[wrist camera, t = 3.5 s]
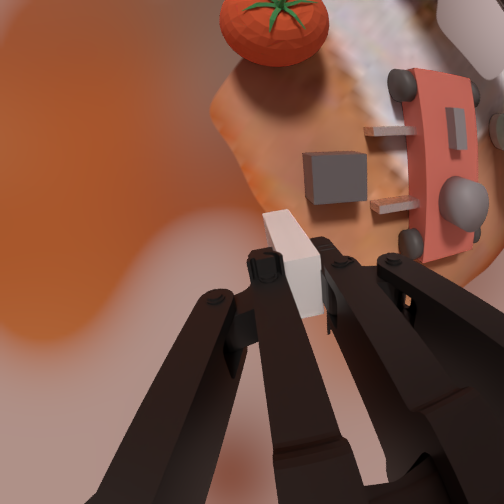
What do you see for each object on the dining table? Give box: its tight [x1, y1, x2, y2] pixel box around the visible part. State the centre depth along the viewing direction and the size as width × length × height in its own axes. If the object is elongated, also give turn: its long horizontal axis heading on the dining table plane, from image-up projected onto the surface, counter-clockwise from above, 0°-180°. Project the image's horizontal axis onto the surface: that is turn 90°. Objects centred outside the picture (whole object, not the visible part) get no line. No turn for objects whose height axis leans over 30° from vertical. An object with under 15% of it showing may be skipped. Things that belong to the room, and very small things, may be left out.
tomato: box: [220, 0, 329, 67], centre depth 19 cm, size 10×10×10 cm
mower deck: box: [388, 68, 489, 263], centre depth 26 cm, size 24×13×8 cm, turn 10°
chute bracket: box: [364, 126, 420, 214], centre depth 29 cm, size 10×6×2 cm, turn 10°
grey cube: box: [302, 151, 367, 205], centre depth 29 cm, size 5×6×4 cm
